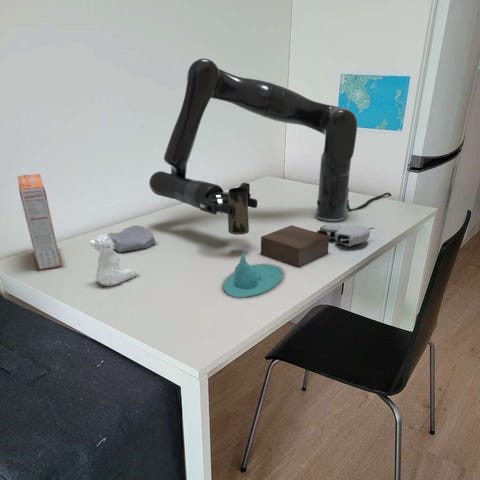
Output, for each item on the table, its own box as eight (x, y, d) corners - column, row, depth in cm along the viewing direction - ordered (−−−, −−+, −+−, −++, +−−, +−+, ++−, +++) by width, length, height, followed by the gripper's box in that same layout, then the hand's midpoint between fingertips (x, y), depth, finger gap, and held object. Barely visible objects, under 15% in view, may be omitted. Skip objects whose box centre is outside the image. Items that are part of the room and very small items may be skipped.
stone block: (159, 249, 139) (139, 234, 144) (159, 235, 136) (138, 220, 141) (123, 262, 132) (104, 246, 137) (123, 247, 129) (102, 231, 134)
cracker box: (34, 252, 133) (16, 175, 123) (57, 248, 135) (41, 172, 125) (37, 271, 122) (17, 188, 112) (62, 267, 124) (45, 185, 114)
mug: (242, 236, 126) (242, 190, 120) (224, 232, 128) (223, 187, 122) (256, 227, 132) (256, 183, 126) (238, 224, 134) (238, 180, 128)
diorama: (293, 270, 122) (294, 237, 118) (256, 302, 107) (257, 266, 102) (250, 261, 127) (250, 230, 123) (210, 291, 112) (209, 256, 108)
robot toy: (308, 243, 140) (354, 252, 131) (308, 228, 138) (355, 236, 129) (331, 232, 148) (376, 240, 139) (331, 218, 146) (377, 225, 137)
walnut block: (290, 241, 140) (291, 225, 137) (327, 253, 132) (329, 235, 129) (260, 254, 131) (260, 236, 129) (298, 267, 124) (299, 248, 121)
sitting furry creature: (138, 275, 120) (132, 228, 114) (123, 290, 112) (116, 241, 106) (103, 271, 121) (95, 226, 115) (86, 286, 114) (77, 238, 108)
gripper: (183, 187, 129) (225, 199, 119) (221, 177, 138) (263, 187, 128) (185, 214, 133) (226, 228, 123) (222, 203, 142) (263, 215, 132)
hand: (245, 207), depth 126 cm, fingers closed on mug, 8 cm apart
